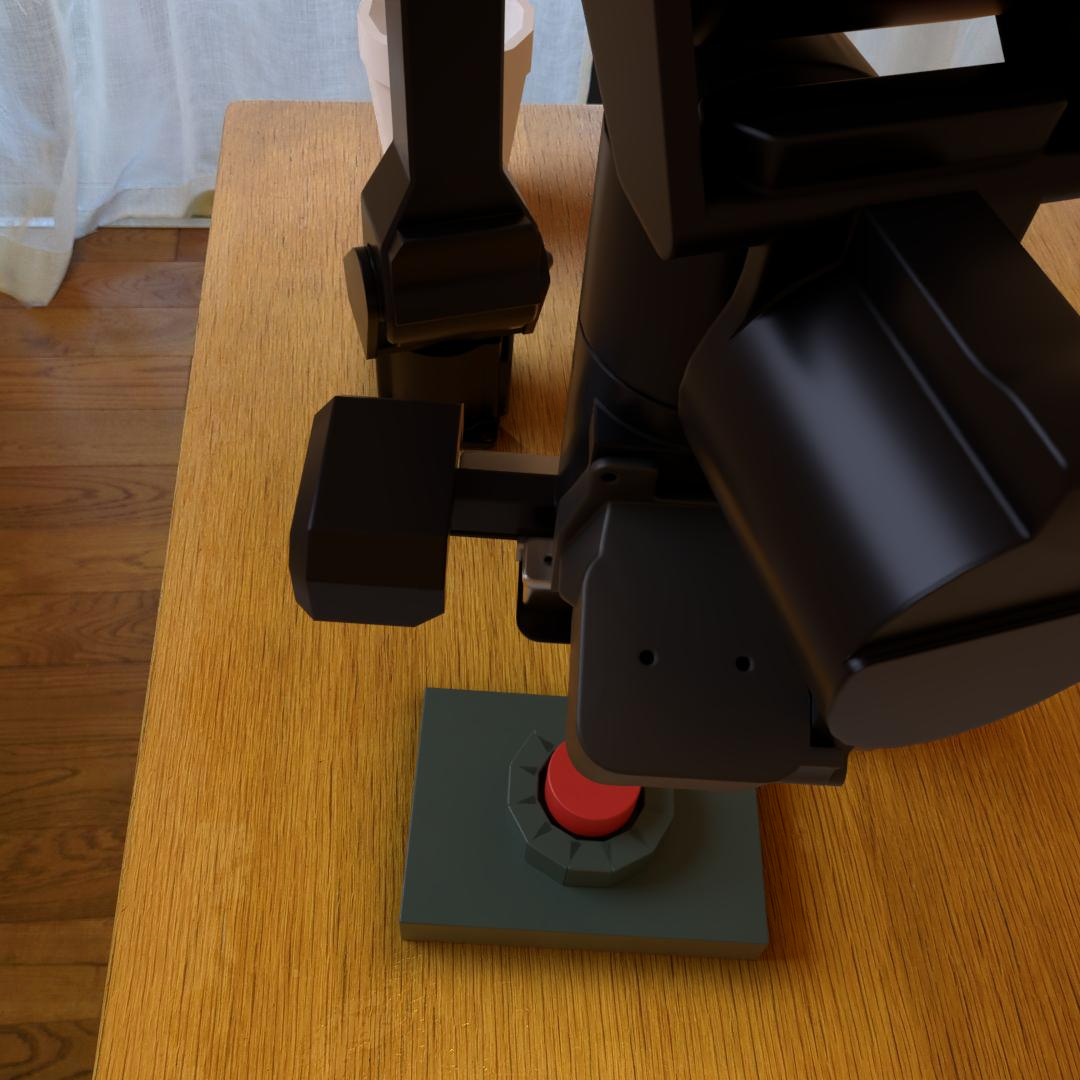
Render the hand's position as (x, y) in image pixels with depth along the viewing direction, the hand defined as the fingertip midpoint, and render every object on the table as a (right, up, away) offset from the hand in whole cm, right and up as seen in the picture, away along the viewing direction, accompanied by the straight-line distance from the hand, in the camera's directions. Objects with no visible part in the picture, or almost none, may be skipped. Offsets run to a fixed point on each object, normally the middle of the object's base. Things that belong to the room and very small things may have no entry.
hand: (620, 678), depth 36 cm
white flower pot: (-8, +25, +33) cm, 43 cm away
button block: (-1, -8, +10) cm, 13 cm away
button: (-1, -5, +7) cm, 9 cm away
